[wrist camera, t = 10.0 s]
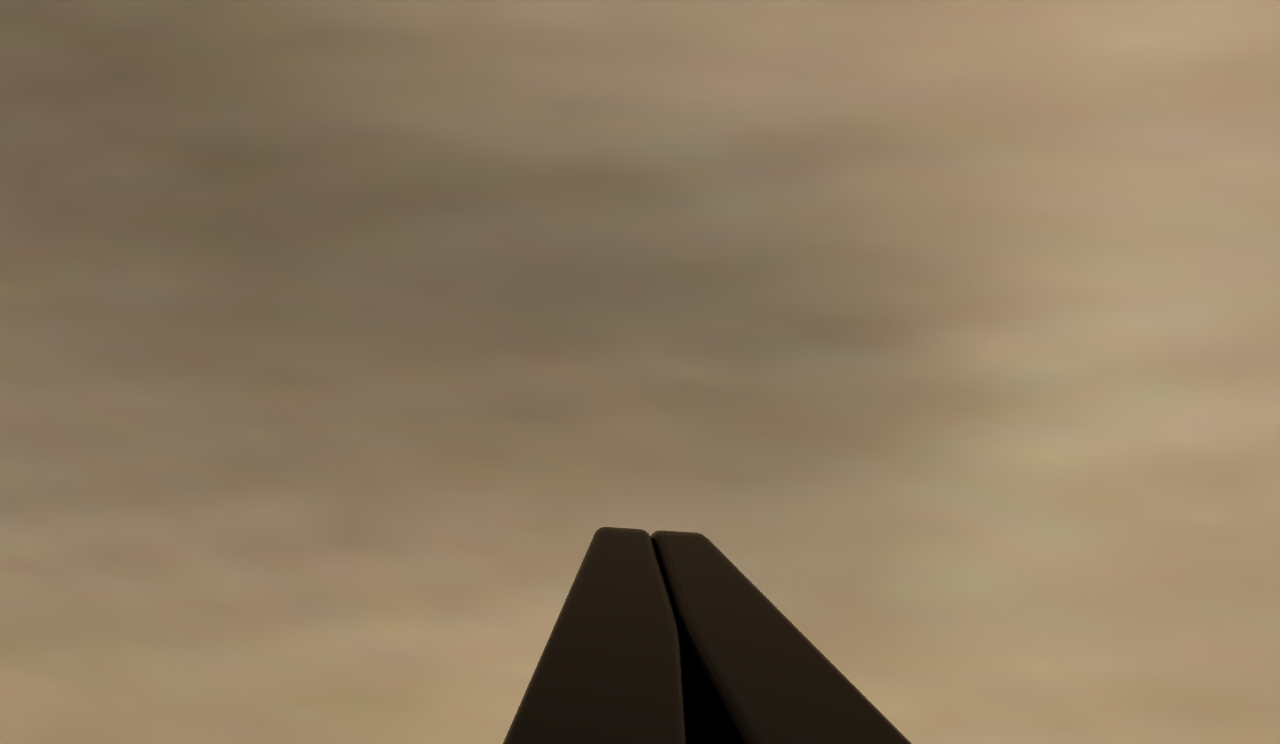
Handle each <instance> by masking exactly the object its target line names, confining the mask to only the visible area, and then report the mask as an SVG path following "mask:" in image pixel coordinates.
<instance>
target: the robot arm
mask: <svg viewBox="0 0 1280 744" xmlns="http://www.w3.org/2000/svg"><path fill="white" fill-rule="evenodd" d="M503 744H911V743H910V742H909V741H908V740H907V739H906V738H905V737H904V736H903V735H902V734H901V733H900V732H899V731H898V730H897V729H896V728H895V727H894V725H893V724H892V723H891V722H890V721H889V720H888V719H887V718H886V717H885V716H884V715H883V714H882V713H881V712H880V711H879V710H878V709H877V708H876V707H875V706H874V705H873V704H872V703H871V702H870V701H869V700H868V699H867V698H866V697H865V696H864V695H863V694H862V693H861V692H860V691H859V690H858V689H857V688H856V687H855V686H854V685H853V684H852V683H851V682H850V681H849V680H848V679H847V678H846V677H845V676H844V675H843V674H842V673H841V672H840V671H839V670H838V669H837V668H836V667H835V666H834V665H833V664H832V663H831V662H830V661H829V660H828V659H827V658H826V657H825V656H824V655H823V654H822V653H821V652H820V651H819V650H818V649H817V648H816V647H815V646H814V645H813V644H812V643H811V642H810V641H809V640H808V639H807V638H806V637H805V636H804V635H803V634H802V633H801V632H800V631H799V630H798V629H797V628H796V627H795V626H794V625H793V624H792V623H791V622H790V621H789V620H788V619H787V618H786V617H785V616H784V615H783V614H782V613H781V612H780V611H779V610H778V609H777V608H776V607H775V606H774V605H773V604H772V603H771V602H770V601H769V600H768V599H767V598H766V597H765V596H764V595H763V594H762V593H761V592H760V591H759V590H758V589H757V588H756V587H755V586H754V585H753V584H752V583H751V582H750V581H749V580H748V579H747V578H746V577H745V576H744V575H743V574H742V573H741V572H740V571H739V570H738V569H737V568H736V567H735V566H734V565H733V564H732V563H731V562H730V561H729V560H728V558H727V557H726V556H725V555H724V554H723V553H722V552H721V551H720V550H719V549H718V548H717V547H716V546H715V545H714V544H713V543H712V542H711V541H710V540H709V539H707V538H706V537H705V536H704V535H702V534H699V533H691V532H675V531H656V532H654V533H653V534H652V535H651V536H650V535H649V533H647V532H646V531H644V530H641V529H627V528H611V527H602V528H600V529H598V530H597V531H596V532H595V534H594V537H593V539H592V541H591V543H590V546H589V548H588V550H587V553H586V555H585V557H584V559H583V562H582V564H581V566H580V569H579V571H578V573H577V575H576V578H575V580H574V582H573V585H572V587H571V589H570V592H569V594H568V596H567V598H566V601H565V603H564V605H563V608H562V610H561V612H560V614H559V617H558V619H557V621H556V624H555V626H554V628H553V630H552V633H551V635H550V637H549V640H548V642H547V644H546V646H545V649H544V651H543V653H542V656H541V658H540V660H539V662H538V665H537V667H536V669H535V672H534V674H533V676H532V679H531V681H530V683H529V685H528V688H527V690H526V692H525V695H524V697H523V699H522V701H521V704H520V706H519V708H518V711H517V713H516V715H515V717H514V720H513V722H512V724H511V727H510V729H509V731H508V733H507V736H506V738H505V740H504V743H503Z"/></svg>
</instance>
